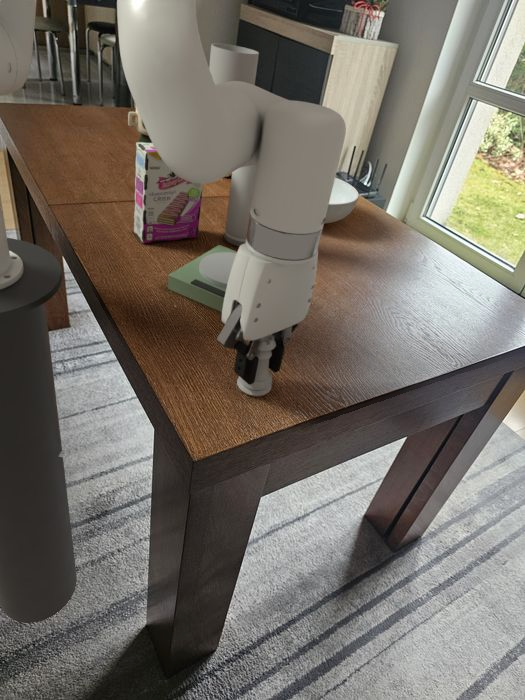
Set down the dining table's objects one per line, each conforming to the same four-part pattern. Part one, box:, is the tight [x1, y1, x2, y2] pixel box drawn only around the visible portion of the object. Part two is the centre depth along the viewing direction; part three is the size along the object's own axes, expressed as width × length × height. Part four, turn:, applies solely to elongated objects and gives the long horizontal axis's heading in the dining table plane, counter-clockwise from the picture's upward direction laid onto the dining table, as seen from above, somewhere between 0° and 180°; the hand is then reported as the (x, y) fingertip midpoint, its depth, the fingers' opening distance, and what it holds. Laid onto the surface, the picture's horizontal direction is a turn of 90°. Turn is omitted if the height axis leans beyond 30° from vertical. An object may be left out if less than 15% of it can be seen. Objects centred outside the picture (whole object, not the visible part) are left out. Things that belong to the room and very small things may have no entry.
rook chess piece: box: [236, 334, 276, 398], centre depth 62 cm, size 4×4×8 cm
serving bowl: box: [324, 177, 360, 225], centre depth 112 cm, size 21×21×7 cm
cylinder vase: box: [208, 42, 260, 86], centre depth 139 cm, size 12×12×25 cm
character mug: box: [127, 105, 152, 143], centre depth 123 cm, size 11×7×13 cm, turn 117°
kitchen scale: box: [167, 244, 238, 313], centre depth 82 cm, size 15×14×3 cm
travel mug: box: [224, 165, 257, 248], centre depth 92 cm, size 6×7×20 cm
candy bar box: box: [133, 141, 204, 244], centre depth 90 cm, size 11×5×16 cm, turn 122°
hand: (256, 370), depth 63 cm, fingers open, 3 cm apart
